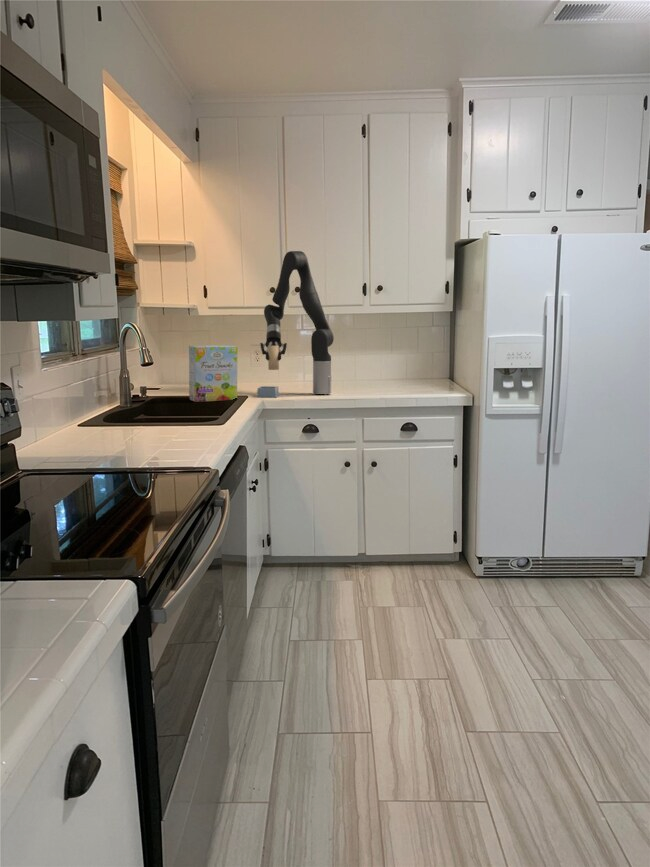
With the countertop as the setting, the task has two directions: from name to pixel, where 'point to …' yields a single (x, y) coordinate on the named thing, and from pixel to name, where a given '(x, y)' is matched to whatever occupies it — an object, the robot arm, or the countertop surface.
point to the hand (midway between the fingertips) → (273, 359)
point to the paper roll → (273, 357)
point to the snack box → (212, 373)
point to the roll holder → (268, 392)
